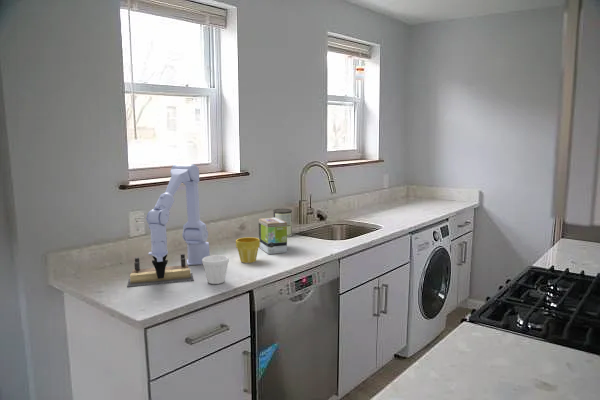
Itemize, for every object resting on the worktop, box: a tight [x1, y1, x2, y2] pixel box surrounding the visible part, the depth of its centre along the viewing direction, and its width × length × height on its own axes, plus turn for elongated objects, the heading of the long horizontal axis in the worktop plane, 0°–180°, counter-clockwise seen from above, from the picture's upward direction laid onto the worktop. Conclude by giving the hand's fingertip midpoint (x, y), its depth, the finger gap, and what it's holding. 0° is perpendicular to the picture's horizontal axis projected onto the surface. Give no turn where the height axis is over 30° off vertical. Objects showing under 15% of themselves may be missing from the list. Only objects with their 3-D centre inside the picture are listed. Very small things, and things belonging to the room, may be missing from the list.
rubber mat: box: [126, 272, 194, 288], centre depth 178 cm, size 24×9×1 cm, turn 107°
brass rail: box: [129, 267, 191, 283], centre depth 178 cm, size 22×3×3 cm, turn 107°
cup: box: [202, 254, 230, 285], centre depth 175 cm, size 10×10×9 cm
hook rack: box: [131, 253, 189, 273], centre depth 188 cm, size 22×8×6 cm, turn 107°
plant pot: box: [235, 236, 260, 264], centre depth 203 cm, size 10×10×10 cm
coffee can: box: [272, 208, 293, 238], centre depth 254 cm, size 10×10×14 cm
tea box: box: [258, 217, 288, 255], centre depth 222 cm, size 15×10×15 cm
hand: (160, 275), depth 178 cm, fingers open, 7 cm apart
